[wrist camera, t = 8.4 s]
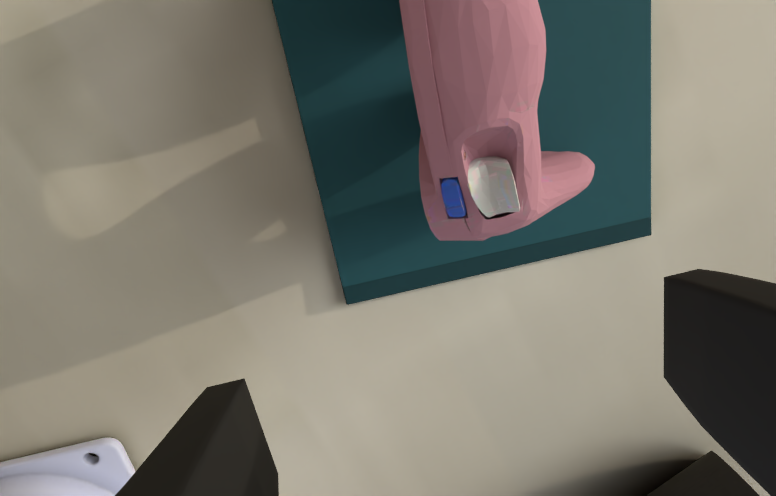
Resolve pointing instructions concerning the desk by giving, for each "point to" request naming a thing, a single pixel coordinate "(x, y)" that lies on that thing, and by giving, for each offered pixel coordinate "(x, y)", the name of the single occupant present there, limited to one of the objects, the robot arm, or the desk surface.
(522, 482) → the desk surface
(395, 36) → the teal board
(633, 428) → the desk surface
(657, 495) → the track light
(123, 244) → the desk surface
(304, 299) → the desk surface
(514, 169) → the video game controller
